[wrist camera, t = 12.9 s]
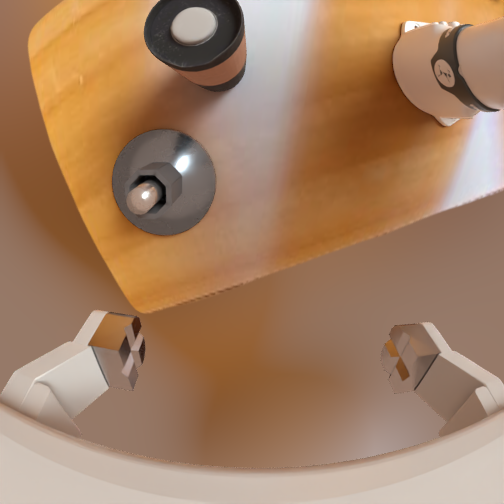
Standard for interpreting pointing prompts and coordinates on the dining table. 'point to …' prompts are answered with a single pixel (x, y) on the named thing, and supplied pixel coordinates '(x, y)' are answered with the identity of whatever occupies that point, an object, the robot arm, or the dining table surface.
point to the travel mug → (199, 40)
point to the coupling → (167, 177)
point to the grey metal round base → (152, 190)
